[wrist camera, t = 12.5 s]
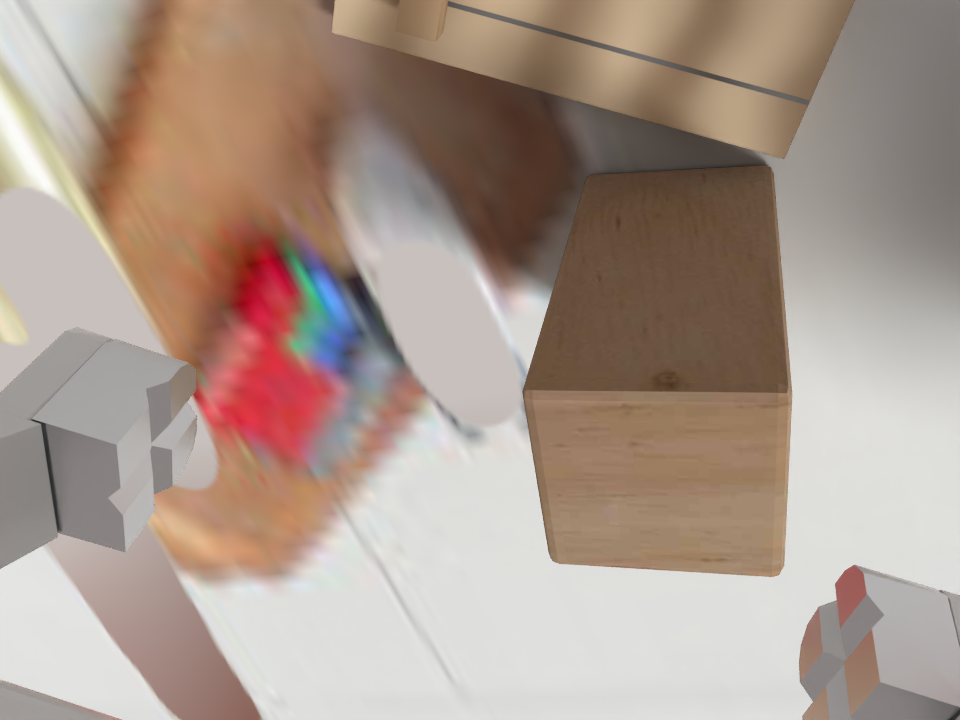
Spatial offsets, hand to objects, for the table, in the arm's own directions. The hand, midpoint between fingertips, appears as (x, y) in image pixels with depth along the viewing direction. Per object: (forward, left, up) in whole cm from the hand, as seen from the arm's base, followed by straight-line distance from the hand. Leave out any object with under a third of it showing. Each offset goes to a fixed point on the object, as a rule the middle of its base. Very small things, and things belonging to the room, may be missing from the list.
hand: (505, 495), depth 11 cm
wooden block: (-6, +17, -39) cm, 43 cm away
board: (+3, +5, -39) cm, 40 cm away
